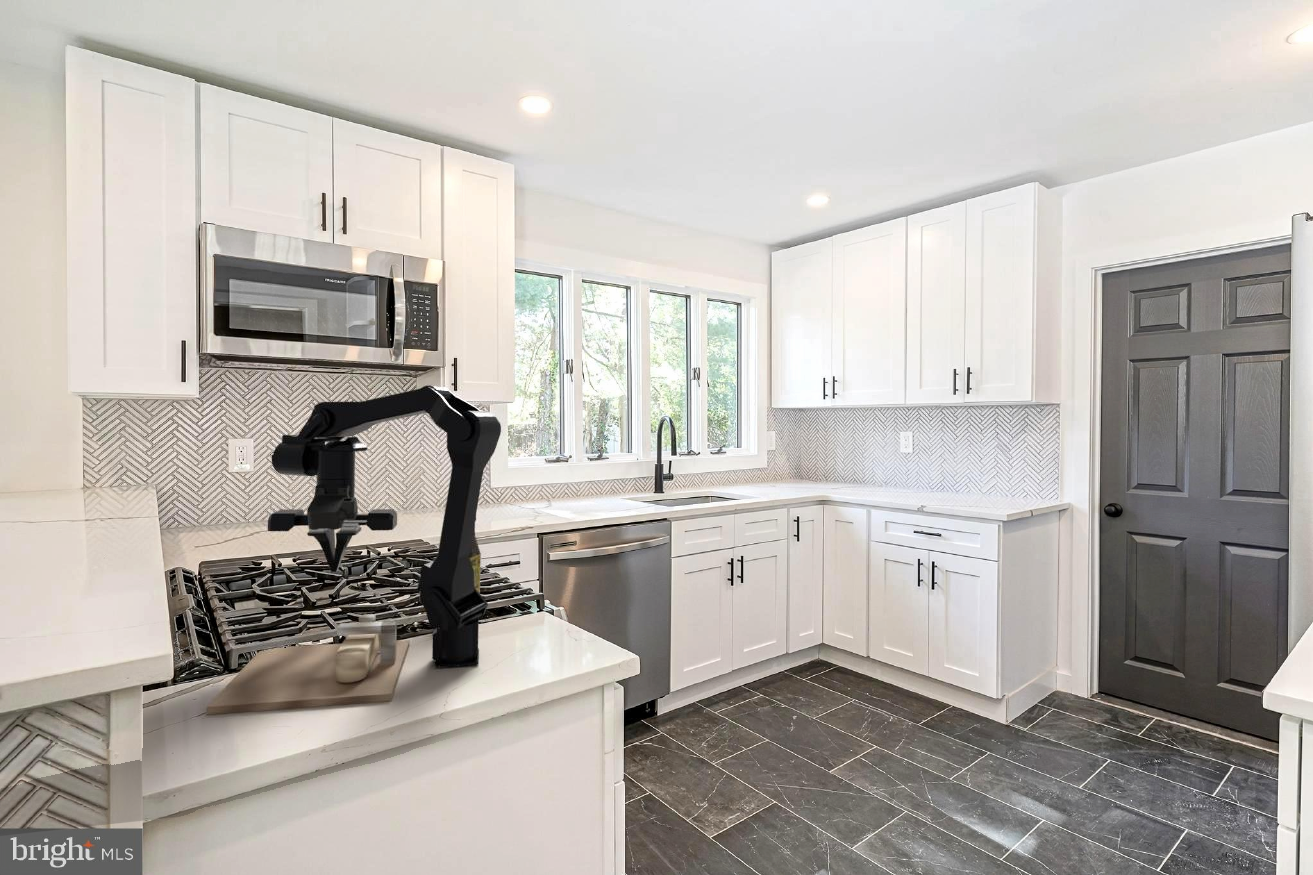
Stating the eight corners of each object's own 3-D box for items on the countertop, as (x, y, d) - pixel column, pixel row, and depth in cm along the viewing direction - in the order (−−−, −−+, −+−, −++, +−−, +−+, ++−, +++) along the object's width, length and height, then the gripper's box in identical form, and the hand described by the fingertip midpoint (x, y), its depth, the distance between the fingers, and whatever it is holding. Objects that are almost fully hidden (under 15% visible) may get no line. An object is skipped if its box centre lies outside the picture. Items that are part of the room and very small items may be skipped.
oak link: (353, 643, 108) (353, 622, 108) (386, 641, 109) (386, 620, 109) (328, 683, 92) (328, 658, 92) (367, 681, 93) (367, 656, 93)
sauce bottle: (469, 621, 125) (471, 516, 125) (439, 619, 126) (440, 514, 126) (485, 612, 132) (487, 511, 131) (456, 609, 133) (457, 510, 132)
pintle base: (409, 645, 112) (410, 604, 111) (391, 700, 90) (392, 649, 90) (262, 654, 106) (263, 610, 106) (206, 714, 85) (206, 660, 85)
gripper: (256, 482, 101) (254, 585, 101) (388, 483, 105) (386, 582, 105) (279, 475, 111) (278, 568, 112) (398, 476, 116) (396, 566, 116)
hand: (334, 571), depth 111 cm, fingers closed
